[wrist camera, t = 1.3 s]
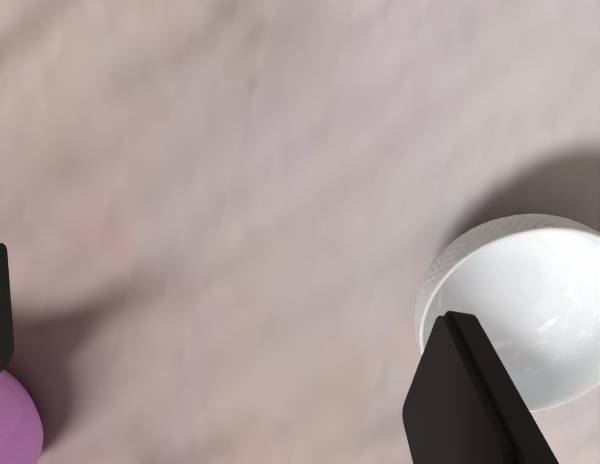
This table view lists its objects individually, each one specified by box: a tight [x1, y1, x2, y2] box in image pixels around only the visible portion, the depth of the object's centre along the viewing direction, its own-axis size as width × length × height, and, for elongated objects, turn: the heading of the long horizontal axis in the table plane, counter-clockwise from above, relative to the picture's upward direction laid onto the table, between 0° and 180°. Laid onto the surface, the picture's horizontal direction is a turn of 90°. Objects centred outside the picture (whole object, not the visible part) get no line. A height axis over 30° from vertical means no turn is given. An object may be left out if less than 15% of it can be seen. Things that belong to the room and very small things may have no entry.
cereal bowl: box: [414, 213, 600, 412], centre depth 39 cm, size 17×17×7 cm
